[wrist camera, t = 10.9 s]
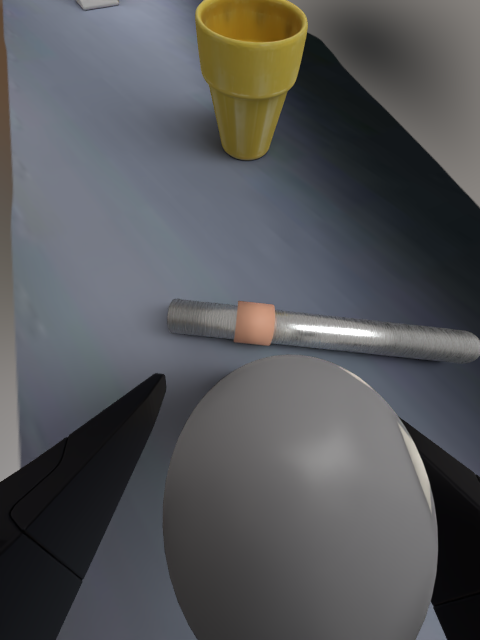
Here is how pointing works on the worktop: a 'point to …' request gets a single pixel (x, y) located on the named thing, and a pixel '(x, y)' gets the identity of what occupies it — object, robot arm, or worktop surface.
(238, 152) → the plant pot
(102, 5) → the medicine bottle
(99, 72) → the worktop surface
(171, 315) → the grey steel rod
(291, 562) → the white grey cylinder
